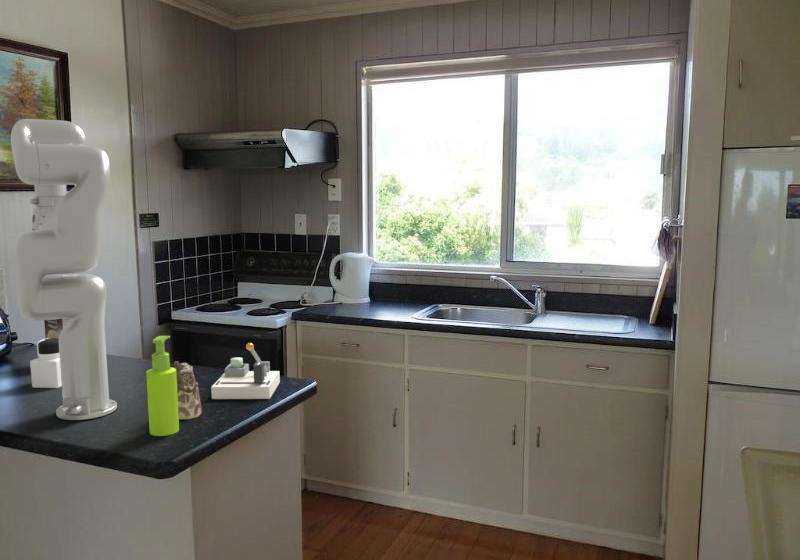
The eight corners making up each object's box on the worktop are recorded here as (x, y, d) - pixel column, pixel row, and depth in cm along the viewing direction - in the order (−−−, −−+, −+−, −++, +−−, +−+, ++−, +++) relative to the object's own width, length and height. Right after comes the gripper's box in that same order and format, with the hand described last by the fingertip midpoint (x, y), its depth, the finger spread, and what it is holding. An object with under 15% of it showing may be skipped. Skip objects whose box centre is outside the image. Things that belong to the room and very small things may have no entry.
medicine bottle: (74, 380, 178) (70, 336, 177) (57, 388, 171) (54, 342, 170) (48, 380, 179) (45, 336, 177) (31, 387, 172) (27, 342, 170)
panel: (269, 398, 162) (268, 376, 162) (211, 399, 162) (210, 376, 162) (279, 382, 176) (279, 361, 175) (226, 382, 176) (225, 361, 175)
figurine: (179, 422, 146) (176, 368, 145) (162, 415, 151) (159, 363, 149) (207, 413, 152) (205, 362, 150) (190, 407, 156) (187, 357, 155)
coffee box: (46, 365, 194) (41, 310, 192) (67, 360, 199) (63, 307, 197) (64, 370, 189) (60, 313, 187) (85, 364, 194) (81, 310, 192)
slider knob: (262, 382, 163) (261, 364, 163) (254, 382, 163) (253, 364, 163) (264, 379, 166) (264, 361, 166) (256, 379, 166) (255, 361, 166)
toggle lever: (267, 371, 172) (249, 342, 171) (261, 375, 172) (243, 346, 171) (270, 368, 175) (252, 340, 174) (263, 372, 175) (245, 343, 174)
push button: (241, 369, 172) (241, 360, 171) (229, 369, 172) (229, 360, 171) (244, 366, 175) (243, 357, 174) (232, 366, 175) (232, 357, 174)
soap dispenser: (184, 424, 145) (179, 333, 142) (174, 436, 138) (169, 341, 135) (156, 424, 145) (151, 333, 142) (145, 436, 138) (140, 341, 135)
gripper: (22, 203, 170) (27, 270, 172) (90, 202, 183) (94, 265, 185) (11, 203, 175) (16, 269, 177) (78, 202, 188) (82, 263, 190)
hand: (56, 267), depth 181 cm, fingers open, 9 cm apart
